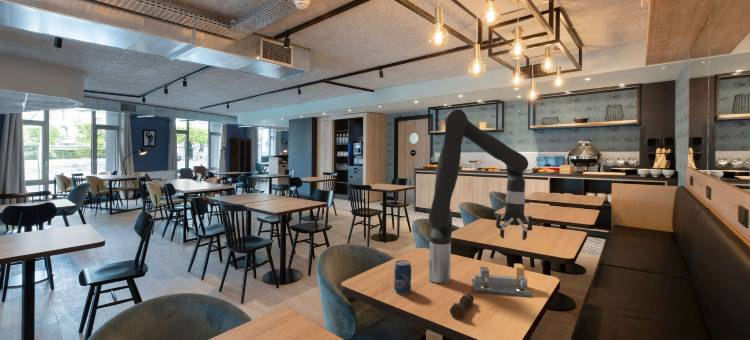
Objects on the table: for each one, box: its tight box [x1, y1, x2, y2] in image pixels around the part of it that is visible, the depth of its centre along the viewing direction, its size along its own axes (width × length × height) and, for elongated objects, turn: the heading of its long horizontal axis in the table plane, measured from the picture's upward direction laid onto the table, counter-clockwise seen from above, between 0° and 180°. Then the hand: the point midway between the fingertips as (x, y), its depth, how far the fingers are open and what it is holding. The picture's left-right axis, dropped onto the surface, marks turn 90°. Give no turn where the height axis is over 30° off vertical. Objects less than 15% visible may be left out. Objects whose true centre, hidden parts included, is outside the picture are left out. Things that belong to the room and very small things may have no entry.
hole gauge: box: [471, 266, 533, 298], centre depth 142 cm, size 22×12×7 cm, turn 80°
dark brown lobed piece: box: [449, 293, 475, 321], centre depth 124 cm, size 6×5×15 cm
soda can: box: [393, 260, 412, 295], centre depth 139 cm, size 7×7×12 cm
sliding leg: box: [513, 263, 526, 288], centre depth 142 cm, size 3×8×7 cm, turn 169°
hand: (513, 238), depth 145 cm, fingers open, 8 cm apart
